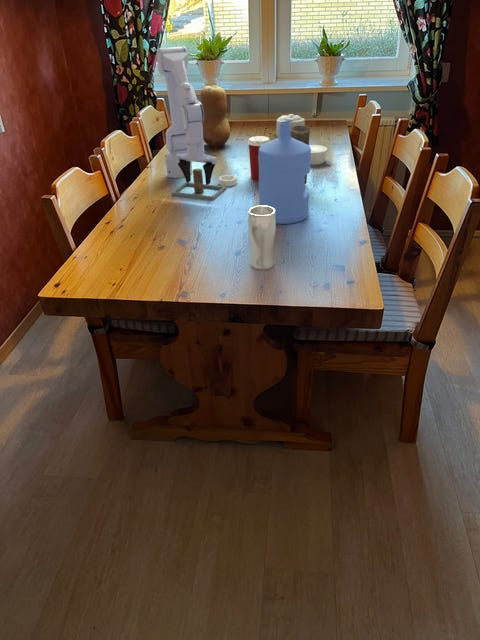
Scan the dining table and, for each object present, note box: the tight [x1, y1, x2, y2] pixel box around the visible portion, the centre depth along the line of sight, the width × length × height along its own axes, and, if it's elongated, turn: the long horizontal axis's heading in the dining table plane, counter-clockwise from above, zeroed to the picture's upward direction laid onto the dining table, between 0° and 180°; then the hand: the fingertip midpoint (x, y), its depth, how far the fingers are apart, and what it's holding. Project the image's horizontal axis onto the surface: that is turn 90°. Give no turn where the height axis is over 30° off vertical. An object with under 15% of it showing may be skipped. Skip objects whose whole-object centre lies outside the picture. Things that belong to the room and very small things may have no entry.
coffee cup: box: [247, 135, 271, 182], centre depth 181 cm, size 8×8×15 cm
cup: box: [218, 174, 238, 187], centre depth 181 cm, size 6×6×3 cm
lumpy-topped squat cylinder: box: [276, 113, 306, 138], centre depth 234 cm, size 10×13×9 cm
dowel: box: [192, 168, 205, 195], centre depth 172 cm, size 3×3×8 cm
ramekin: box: [309, 144, 329, 166], centre depth 200 cm, size 11×11×5 cm
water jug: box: [258, 121, 311, 225], centre depth 149 cm, size 16×16×28 cm
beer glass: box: [247, 205, 277, 271], centre depth 126 cm, size 7×7×15 cm
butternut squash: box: [200, 85, 231, 149], centre depth 218 cm, size 14×13×25 cm
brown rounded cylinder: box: [290, 125, 311, 185], centre depth 173 cm, size 8×7×20 cm
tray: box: [171, 182, 227, 201], centre depth 174 cm, size 16×11×2 cm
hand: (198, 182), depth 172 cm, fingers open, 7 cm apart
